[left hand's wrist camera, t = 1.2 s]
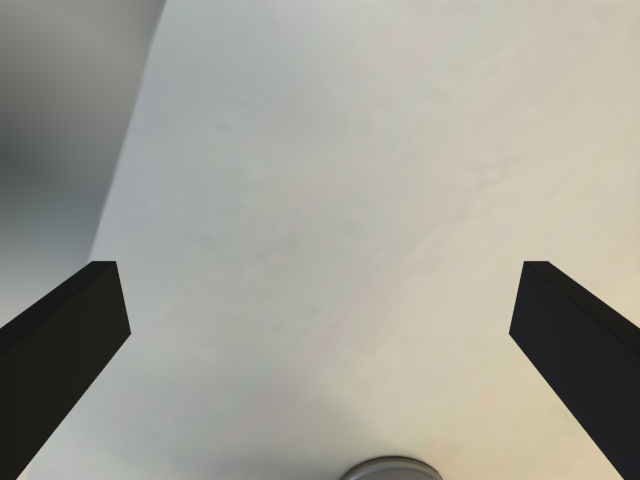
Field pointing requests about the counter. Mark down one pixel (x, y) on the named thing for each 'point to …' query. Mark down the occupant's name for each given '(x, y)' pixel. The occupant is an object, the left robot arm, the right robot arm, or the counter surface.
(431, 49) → the counter surface
